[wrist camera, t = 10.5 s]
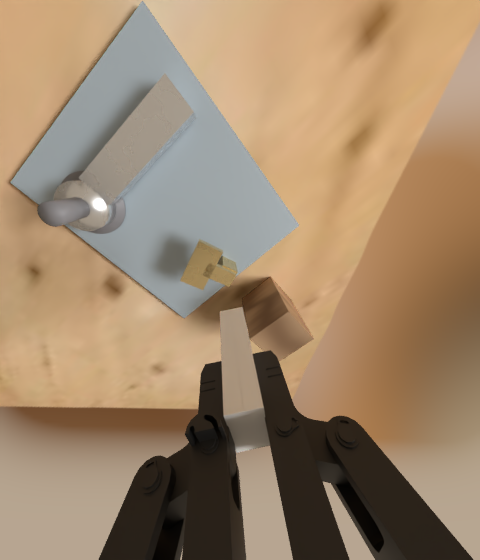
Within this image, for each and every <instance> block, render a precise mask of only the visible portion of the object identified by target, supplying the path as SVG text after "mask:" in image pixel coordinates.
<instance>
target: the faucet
mask: <svg viewBox="0 0 480 560" xmlns="http://www.w3.org/2000/svg"><path fill="white" fill-rule="evenodd" d="M195 118H196V116H195V113H194V111H193V110H192V109H191V107H190V106H189V105H188V103H187V102H186V101H185V99H184V98H183V97H182V95H181V94H180V93H179V91H178V90H177V89H176V87H175V86H174V85H173V83H172V82H171V81H170V79H169V78H168V77H167V75H166V74H165V73H164V75H163V76H162V77H161V78H160V79H159V81H158V82H157V83H156V84H155V86H154V87H153V88H152V89H151V90H150V92H149V93H148V94H147V95H146V96H145V98H144V99H143V100H142V101H141V103H140V104H139V105H138V106H137V107H136V109H135V110H134V111H133V112H132V113H131V115H130V116H129V117H128V118H127V120H126V121H125V122H124V123H123V124H122V126H121V127H120V128H119V129H118V130H117V132H116V133H115V134H114V135H113V137H112V138H111V139H110V140H109V141H108V143H107V144H106V145H105V146H104V147H103V149H102V150H101V151H100V152H99V154H98V155H97V156H96V157H95V158H94V160H93V161H92V162H91V163H90V164H89V166H88V167H87V168H86V169H85V171H84V172H83V173H82V174H81V175H80V177H79V179H80V180H79V181H67V182H64V183H62V184H61V185H59V186H58V187H57V189H56V191H55V193H54V200H60V199H66V198H73V197H79V198H82V199H83V200H85V201H86V202H87V203H88V205H89V207H90V214H89V215H88V216H87V217H85V218H82V219H79V220H76V221H73V222H70V223H68V224H69V225H70V226H72V227H74V228H76V229H79V230H82V231H94V230H97V229H99V228H101V227H103V226H106V225H108V224H109V223H111V222H112V221H113V219H114V218H115V215H116V203H118V202H119V201H120V200H121V199H122V198H123V197H124V196H125V195H126V194H127V193H128V192H129V190H130V189H131V188H132V187H133V186H134V185H135V184H136V183H137V182H138V181H139V180H140V178H141V177H142V176H143V175H144V174H145V173H146V172H147V171H148V170H149V169H150V168H151V166H152V165H153V164H154V163H155V162H156V161H157V160H158V159H159V158H160V157H161V155H162V154H163V153H164V152H165V151H166V150H167V149H168V148H169V147H170V146H171V145H172V143H173V142H174V141H175V140H176V139H177V138H178V137H179V136H180V135H181V134H182V133H183V131H184V130H185V129H186V128H187V127H188V126H189V125H190V124H191V123H192V122H193V121H194V119H195Z"/></svg>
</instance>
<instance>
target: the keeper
mask: <svg viewBox="0 0 480 560" xmlns="http://www.w3.org/2000/svg"><path fill="white" fill-rule="evenodd" d="M222 254H223V250H221V249H219V248H217V247H215V246H213V245H211V244H209V243H207V242H205V241H203V240H201V239H199V241H198V243H197V245H196V247H195V249H194V251H193V254H192V256H191V258H190V260H189V262H188V264H187V266H186V268H185V270H184V273H183V275H182V277H181V279H180V281H181V282H184V283H186V284H189V285H191V286H194V287H196V288H198V289H201V290H203V289H204V287H205V285H206V284H207V282H208V280H209V279H212V280H214V281H216V282H219V283H221V284H223V285H226V286H228V287H230V285H231V283H232V282H233V280H234V278H235V277H236V274H237V273H238V271H237V266H236V262H234V261H232V260H230V259H228V258H226V257H224V256H222V258H221V260H220V262H219V263H218V261H219V259H220V257H221V255H222ZM217 263H218V264H217Z"/></svg>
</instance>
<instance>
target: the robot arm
mask: <svg viewBox="0 0 480 560" xmlns="http://www.w3.org/2000/svg"><path fill="white" fill-rule="evenodd" d="M220 333H221V360H222V361H220V362H215V363H210V364H205V366H204V368H203V371H202V373H201V381H200V384H201V385H200V395H199V411H198V414H197V415H196V416H195V417H194V418H193V419H192V420H191V421H190V423H189V424H188V426H187V429H186V433H185V435H186V437H187V439H188V441H189V443H188V445H187V446H185V447H184V448H183V449H181V450H180V451H178V452H177V453H175V454H173V455H172V456H170V457H168V458H165V457H163V456H155V457H152V458H150V459H149V460H147V461H146V462H145V463H144V464H143V465H142V466H141V467H140V468H139V470H138V472H137V473H136V475H135V477H134V479H133V481H132V484H131V486H130V488H129V491H128V493H127V495H126V498H125V500H124V502H123V504H122V507H121V509H120V512H119V514H118V517H117V518H116V521H115V523H114V525H113V528H112V530H111V532H110V535H109V537H108V539H107V541H106V544H105V546H104V548H103V551H102V553H101V555H100V557H99V560H180V557H181V552H182V548H183V555H182V560H246V553H245V540H244V528H243V516H242V505H241V492H240V480H239V470H238V466H237V463H236V452H237V453H238V452H241V451H247V450H251V449H256V448H260V447H265V446H270V447H271V452H272V456H273V461H274V467H275V472H276V477H277V481H278V487H279V491H280V496H281V501H282V506H283V511H284V516H285V521H286V526H287V531H288V536H289V541H290V546H291V551H292V556H293V560H349V557H348V554H347V552H346V548H345V545H344V543H343V540H342V537H341V534H340V531H339V529H338V525H337V522H336V520H335V517H334V514H333V511H332V508H331V505H330V502H329V499H328V497H327V494H326V491H325V488H324V485H323V482H322V481H324V482H328V483H331V484H332V486H333V488H334V489H335V491H336V493H337V494H338V496H339V498H340V500H341V501H342V503H343V505H344V507H345V508H346V510H347V512H348V513H349V515H350V517H351V519H352V520H353V522H354V523H355V526H356V527H357V529H358V531H359V532H360V534H361V536H362V538H363V539H364V541H365V543H366V544H367V546H368V548H369V550H370V551H371V553H372V555H373V556H374V558H375V560H473V559H472V557H471V556H470V555H469V554H468V553H467V551H466V550H465V549H464V548H463V547H462V546H461V544H460V543H459V542H458V541H457V539H456V538H455V537H454V536H453V535H452V534H451V532H450V531H449V530H448V529H447V528H446V526H445V525H444V524H443V523H442V522H441V521H440V519H439V518H438V517H437V516H436V515H435V513H434V512H433V511H432V510H431V509H430V507H429V506H428V505H427V504H426V503H425V501H424V500H423V499H422V498H421V497H420V496H419V494H418V493H417V492H416V491H415V490H414V488H413V487H412V486H411V485H410V484H409V482H408V481H407V480H406V479H405V478H404V476H403V475H402V474H401V473H400V472H399V471H398V469H397V468H396V467H395V466H394V465H393V463H392V462H391V461H390V460H389V459H388V458H387V456H386V455H385V454H384V453H383V452H382V450H381V449H380V448H379V447H378V446H377V445H376V443H375V442H374V441H373V440H372V438H371V437H370V436H369V435H368V434H367V432H366V431H365V430H364V429H363V428H362V427H361V426H360V425H359V424H358V423H357V422H356V421H355V420H352V419H350V418H349V417H345V416H336V417H333V418H332V419H331V420H330V421H328V422H324V421H318V420H312V419H309V418H307V417H304V416H303V415H302V414H300V413H299V412H298V411H297V409H296V408H295V406H294V404H293V402H292V399H291V396H290V393H289V390H288V387H287V384H286V381H285V378H284V375H283V372H282V370H281V367H280V364H279V361H278V358H277V356H276V355H275V354H274V353H273V352H272V351H271V350H269V351H265V352H260V353H255V354H252V349H251V345H250V340H249V335H248V330H247V326H246V321H245V316H244V311H243V307H239V308H234V309H229V310H224V311H220ZM235 449H236V451H235Z"/></svg>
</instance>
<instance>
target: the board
mask: <svg viewBox="0 0 480 560" xmlns="http://www.w3.org/2000/svg"><path fill="white" fill-rule="evenodd" d="M164 73H165V74H166V75H167V77H168V78H169V79H170V81H171V82H172V83H173V85H174V86H175V87H176V89H177V90H178V91H179V93H180V94H181V95H182V97H183V98H184V99H185V101H186V102H187V103H188V105H189V106H190V107H191V109H192V110H193V111H194V113H195V116H196V118H195V119H194V121H193V122H192V123H191V124H190V125H189V126H188V127H187V128H186V129H185V130H184V131H183V133H182V134H181V135H180V136H179V137H178V138H177V139H176V140H175V141H174V142H173V143H172V145H171V146H170V147H169V148H168V149H167V150H166V151H165V152H164V153H163V154H162V155H161V157H160V158H159V159H158V160H157V161H156V162H155V163H154V164H153V165H152V166H151V168H150V169H149V170H148V171H147V172H146V173H145V174H144V175H143V176H142V177H141V178H140V180H139V181H138V182H137V183H136V184H135V185H134V186H133V187H132V188H131V189H130V190H129V192H128V193H127V194H126V195H125V196H124V197H123V198H122V199H121V200H120V201H119V202H118V203H116V215H115V218H114V219H113V221H112V222H111V223H109V224H108V225H106V226H103V227H101V228H99V229H97V230H94V231H82V230H79V229H76V228H74V227H72V226H70V225H69V224H68V223H70V222H73V221H76V220H79V219H82V218H85V217H87V216H88V215H89V214H90V207H89V205H88V203H87V202H86V201H85V200H83V199H82V198H79V197H73V198H66V199H60V200H54V193H55V191H56V189H57V187H58V186H59V185H61V184H62V183H64V182H67V181H79V180H80V179H79V177H80V175H81V174H82V173H83V172H84V171H85V169H86V168H87V167H88V166H89V164H90V163H91V162H92V161H93V160H94V158H95V157H96V156H97V155H98V154H99V152H100V151H101V150H102V149H103V147H104V146H105V145H106V144H107V143H108V141H109V140H110V139H111V138H112V137H113V135H114V134H115V133H116V132H117V130H118V129H119V128H120V127H121V126H122V124H123V123H124V122H125V121H126V120H127V118H128V117H129V116H130V115H131V113H132V112H133V111H134V110H135V109H136V107H137V106H138V105H139V104H140V103H141V101H142V100H143V99H144V98H145V96H146V95H147V94H148V93H149V92H150V90H151V89H152V88H153V87H154V86H155V84H156V83H157V82H158V81H159V79H160V78H161V77H162V76H163V75H164ZM10 183H11V184H13V185H14V186H15V187H17V188H18V189H19V190H20V191H22V192H23V193H24V194H26V195H27V196H28V197H29V198H31V199H32V200H33V201H34V202H36V203H37V204H38V205H39V206H38V215H39V217H40V218H41V219H42V220H43V221H44V222H45V223H46V224H48V225H50V226H55V227H57V226H61V225H65V226H66V227H68V228H69V229H70V230H72V231H73V232H74V233H75V234H77V235H78V236H79V237H81V238H82V239H83V240H84V241H86V242H87V243H88V244H90V245H91V246H92V247H93V248H95V249H96V250H97V251H98V252H100V253H101V254H102V255H104V256H105V257H106V258H107V259H109V260H110V261H111V262H113V263H114V264H115V265H116V266H118V267H119V268H120V269H122V270H123V271H124V272H125V273H127V274H128V275H129V276H130V277H132V278H133V279H134V280H136V281H137V282H138V283H139V284H141V285H142V286H143V287H145V288H146V289H147V290H148V291H150V292H151V293H152V294H154V295H155V296H156V297H157V298H159V299H160V300H161V301H162V302H164V303H165V304H166V305H168V306H169V307H170V308H171V309H173V310H174V311H175V312H177V313H178V314H179V315H180V316H182V317H183V318H185V317H187V316H188V315H189V314H190V313H191V312H193V311H194V310H195V309H196V308H198V307H199V306H200V305H201V304H203V303H204V302H205V301H206V300H208V299H209V298H210V297H211V296H212V295H214V294H215V293H216V292H217V291H219V290H220V289H221V288H222V287H224V286H225V285H223V284H221V283H219V282H216V281H214V280H212V279H209V280H208V282H207V284H206V285H205V287H204V289H203V290H201V289H198V288H196V287H194V286H191V285H189V284H186V283H184V282H181V281H180V279H181V277H182V275H183V273H184V270H185V268H186V266H187V264H188V262H189V260H190V258H191V256H192V254H193V251H194V249H195V247H196V245H197V243H198V241H199V239H201V240H203V241H205V242H207V243H209V244H211V245H213V246H215V247H217V248H219V249H221V250H223V254H222V255H221V257H220V259H219V261H218V263H219V262H220V260H221V258H222V256H224V257H226V258H228V259H230V260H232V261H234V262H236V266H237V271H238V273H237V274H236V276H237V275H238V274H240V273H241V272H242V271H243V270H245V269H246V268H247V267H248V266H250V265H251V264H252V263H253V262H255V261H256V260H257V259H258V258H259V257H261V256H262V255H263V254H264V253H266V252H267V251H268V250H269V249H271V248H272V247H273V246H274V245H276V244H277V243H278V242H279V241H280V240H282V239H283V238H284V237H285V236H287V235H288V234H289V233H290V232H292V231H293V230H294V229H295V228H297V227H298V226H299V224H298V223H297V221H296V220H295V218H294V217H293V216H292V214H291V213H290V211H289V210H288V208H287V207H286V206H285V204H284V203H283V201H282V200H281V198H280V197H279V195H278V194H277V193H276V191H275V190H274V188H273V187H272V185H271V184H270V183H269V181H268V180H267V178H266V177H265V175H264V174H263V173H262V171H261V170H260V168H259V167H258V165H257V164H256V162H255V161H254V160H253V158H252V157H251V155H250V154H249V152H248V151H247V150H246V148H245V147H244V145H243V144H242V142H241V141H240V140H239V138H238V137H237V135H236V134H235V132H234V131H233V129H232V128H231V127H230V125H229V124H228V122H227V121H226V119H225V118H224V117H223V115H222V114H221V112H220V111H219V109H218V108H217V107H216V105H215V104H214V102H213V101H212V99H211V98H210V96H209V95H208V94H207V92H206V91H205V89H204V88H203V86H202V85H201V84H200V82H199V81H198V79H197V78H196V76H195V75H194V74H193V72H192V71H191V69H190V68H189V66H188V65H187V63H186V62H185V61H184V59H183V58H182V56H181V55H180V53H179V52H178V51H177V49H176V48H175V46H174V45H173V43H172V42H171V41H170V39H169V38H168V36H167V35H166V33H165V32H164V30H163V29H162V28H161V26H160V25H159V23H158V22H157V20H156V19H155V18H154V16H153V15H152V13H151V12H150V10H149V9H148V8H147V6H146V5H145V3H144V2H143V1H142V2H141V3H140V5H139V6H138V8H137V9H136V10H135V12H134V13H133V14H132V16H131V17H130V19H129V20H128V21H127V23H126V24H125V25H124V27H123V28H122V30H121V31H120V32H119V34H118V35H117V36H116V38H115V39H114V41H113V42H112V43H111V45H110V46H109V47H108V49H107V50H106V52H105V53H104V54H103V56H102V57H101V58H100V60H99V61H98V63H97V64H96V65H95V67H94V68H93V69H92V71H91V72H90V74H89V75H88V76H87V78H86V79H85V80H84V82H83V83H82V85H81V86H80V87H79V89H78V90H77V91H76V93H75V94H74V96H73V97H72V98H71V100H70V101H69V102H68V104H67V105H66V107H65V108H64V109H63V111H62V112H61V113H60V115H59V116H58V118H57V119H56V120H55V122H54V123H53V124H52V126H51V127H50V129H49V130H48V131H47V133H46V134H45V135H44V137H43V138H42V139H41V141H40V142H39V144H38V145H37V146H36V148H35V149H34V150H33V152H32V153H31V155H30V156H29V157H28V159H27V160H26V161H25V163H24V164H23V166H22V167H21V168H20V170H19V171H18V172H17V174H16V175H15V177H14V178H13V179H12V181H11V182H10ZM218 263H217V264H218Z"/></svg>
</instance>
